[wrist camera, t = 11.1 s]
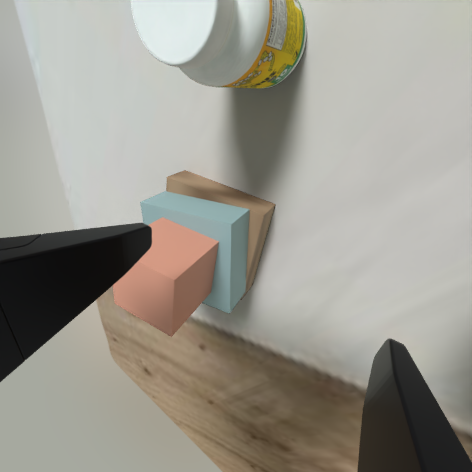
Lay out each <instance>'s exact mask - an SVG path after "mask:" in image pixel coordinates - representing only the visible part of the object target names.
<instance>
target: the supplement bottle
mask: <svg viewBox="0 0 472 472" xmlns="http://www.w3.org/2000/svg"><path fill="white" fill-rule="evenodd" d="M131 8H132V14H133V19H134V23H135V26H136V29H137V32H138V34H139V36H140V39H141V41H142V42H143V44H144V46H145V47H146V49H147V50H148V51H149V52H150V54H152V55H153V56H154V57H155V58H156V59H157V60H159V61H161V62H163V63H165V64H167V65H170V66H175V67H179V68H180V69H181V71H182V72H183V73H184V74H185V75H187V76H188V77H189V78H190V79H192V80H194V81H195V82H197V83H200V84H202V85H206V86H212V87H235V88H269V87H272V86H275V85H277V84H279V83H280V82H281V81H283V80H284V79H285V78H286V77H287V76H288V75H289V74H290V73H291V72H292V71H293V70H294V69H295V67H296V66H297V64H298V62H299V61H300V59H301V57H302V54H303V51H304V47H305V43H306V33H307V26H306V19H305V14H304V11H303V8H302V6H301V4H300V2H299V0H131Z"/></svg>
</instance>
